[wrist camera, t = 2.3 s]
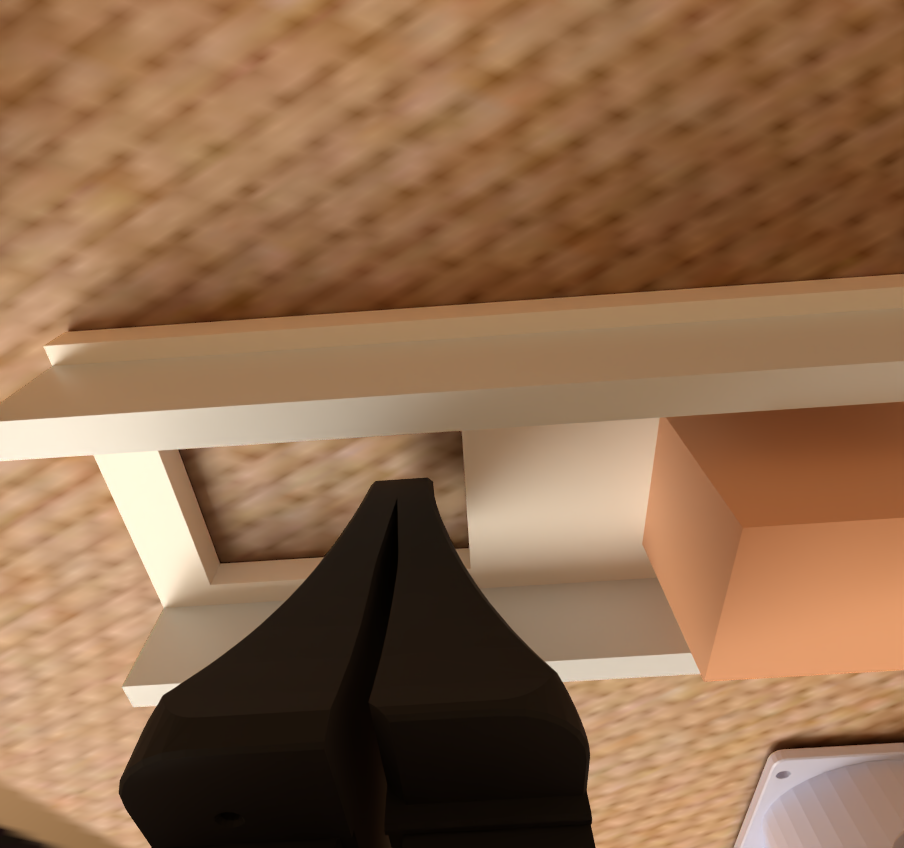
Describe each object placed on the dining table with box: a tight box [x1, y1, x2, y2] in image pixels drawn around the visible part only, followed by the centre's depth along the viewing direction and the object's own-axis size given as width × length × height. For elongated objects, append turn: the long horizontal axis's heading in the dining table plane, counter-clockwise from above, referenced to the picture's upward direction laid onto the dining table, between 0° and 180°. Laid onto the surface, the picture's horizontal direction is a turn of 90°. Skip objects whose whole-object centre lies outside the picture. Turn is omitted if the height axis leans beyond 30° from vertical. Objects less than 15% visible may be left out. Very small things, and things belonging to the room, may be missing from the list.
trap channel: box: [0, 274, 904, 707], centre depth 13 cm, size 9×25×3 cm, turn 94°
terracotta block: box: [642, 402, 904, 682], centre depth 12 cm, size 4×6×4 cm, turn 94°
